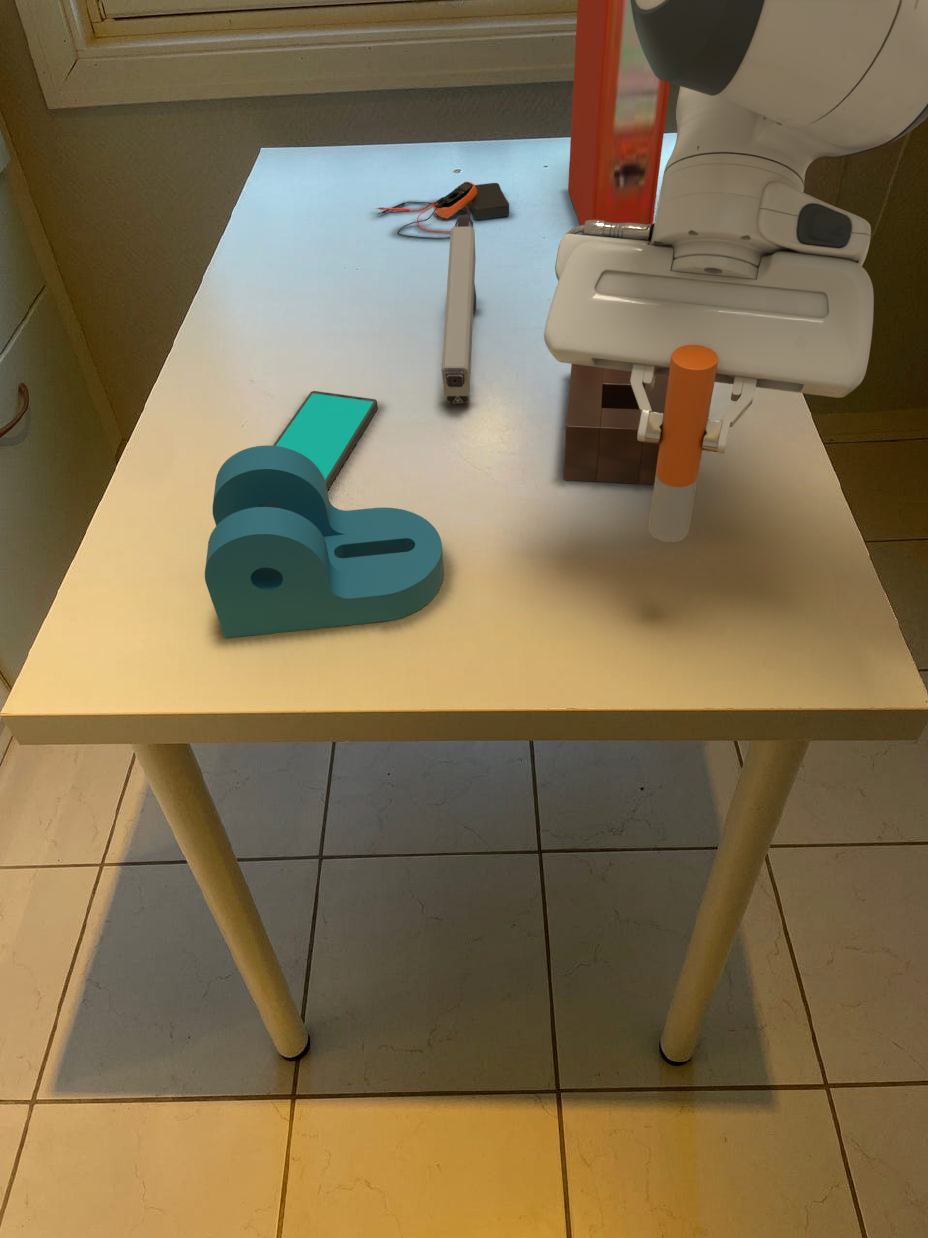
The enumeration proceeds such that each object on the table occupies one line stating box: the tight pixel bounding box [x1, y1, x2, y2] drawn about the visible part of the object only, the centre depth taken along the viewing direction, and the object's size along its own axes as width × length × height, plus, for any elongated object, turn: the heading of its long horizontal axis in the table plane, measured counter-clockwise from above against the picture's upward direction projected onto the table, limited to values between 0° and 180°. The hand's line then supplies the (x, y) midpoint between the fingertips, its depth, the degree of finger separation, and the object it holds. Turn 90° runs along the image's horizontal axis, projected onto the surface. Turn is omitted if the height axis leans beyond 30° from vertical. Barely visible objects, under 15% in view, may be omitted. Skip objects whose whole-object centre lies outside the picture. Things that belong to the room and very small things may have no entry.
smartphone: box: [272, 390, 378, 491], centre depth 90 cm, size 7×1×15 cm
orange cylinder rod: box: [648, 345, 718, 543], centre depth 61 cm, size 3×3×14 cm
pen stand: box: [562, 364, 669, 485], centre depth 88 cm, size 10×17×6 cm, turn 173°
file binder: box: [567, 0, 671, 245], centre depth 110 cm, size 8×17×32 cm, turn 4°
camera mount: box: [204, 445, 445, 639], centre depth 74 cm, size 18×10×10 cm, turn 96°
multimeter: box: [373, 181, 510, 240], centre depth 122 cm, size 18×12×3 cm, turn 96°
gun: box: [441, 214, 477, 404], centre depth 99 cm, size 2×25×10 cm, turn 177°
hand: (681, 446), depth 60 cm, fingers closed on orange cylinder rod, 3 cm apart
